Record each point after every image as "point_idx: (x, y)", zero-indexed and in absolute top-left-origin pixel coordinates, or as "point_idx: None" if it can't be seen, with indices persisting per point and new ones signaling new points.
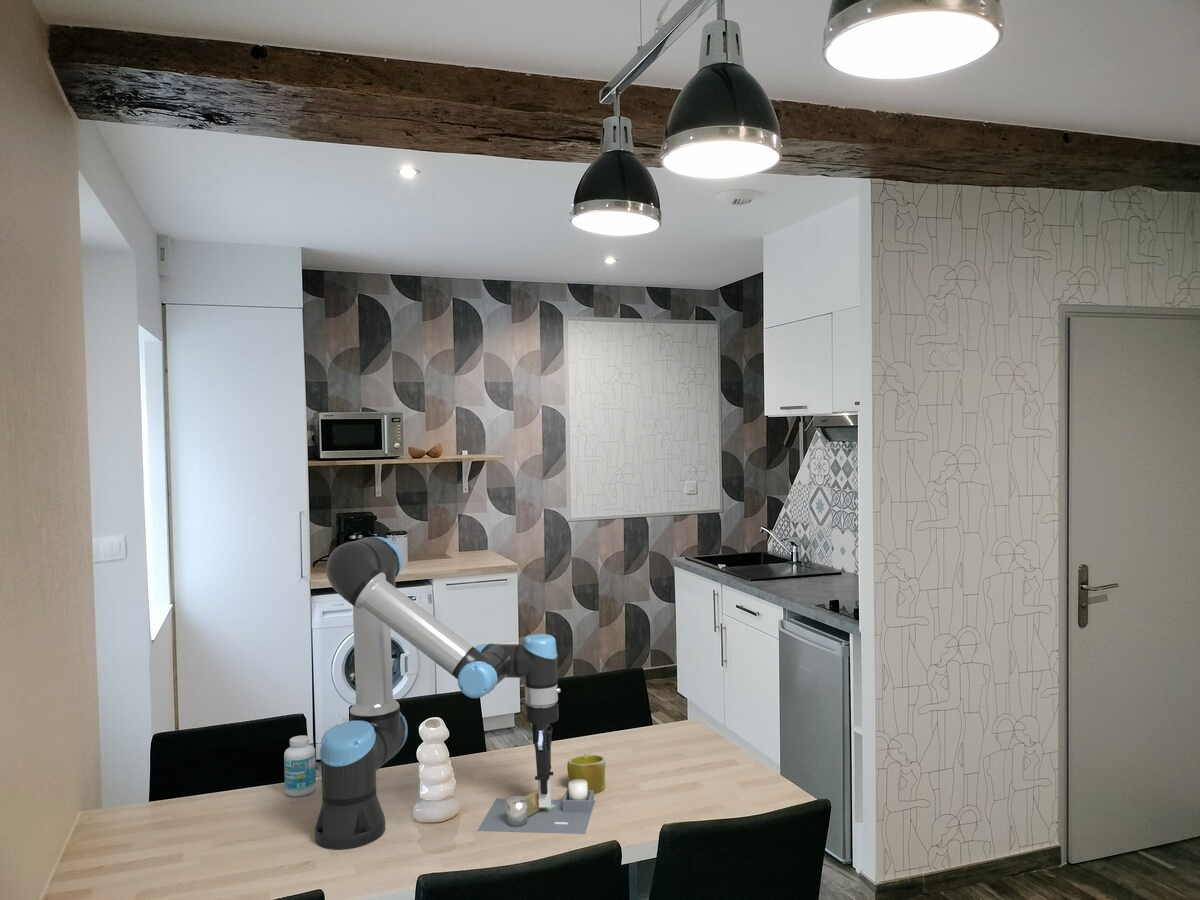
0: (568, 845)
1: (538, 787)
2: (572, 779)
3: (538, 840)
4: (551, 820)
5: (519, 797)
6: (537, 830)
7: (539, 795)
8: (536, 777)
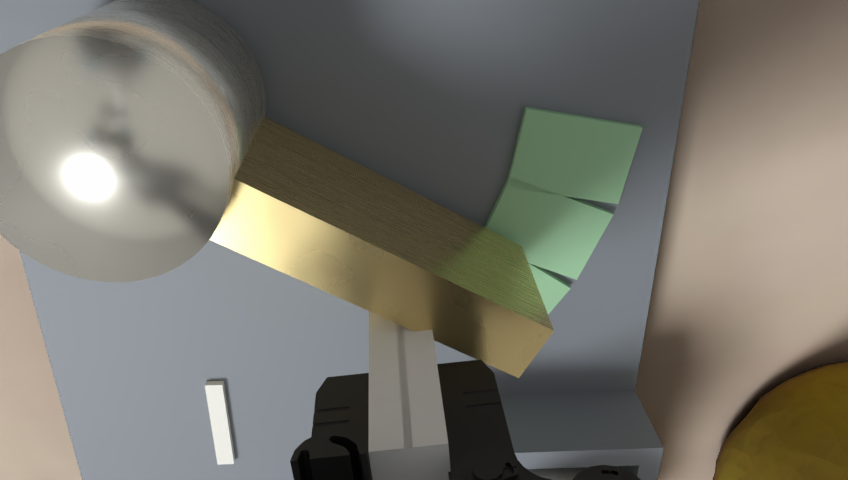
0: (9, 469)
1: (369, 381)
2: (833, 475)
3: (16, 285)
4: (263, 350)
5: (174, 184)
6: (63, 289)
7: (371, 335)
8: (313, 474)
